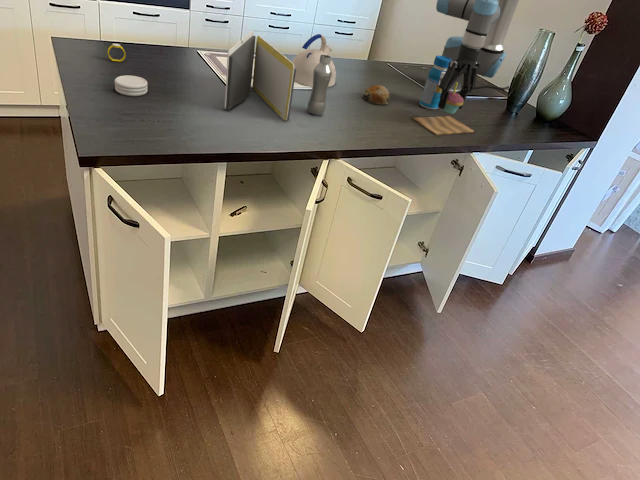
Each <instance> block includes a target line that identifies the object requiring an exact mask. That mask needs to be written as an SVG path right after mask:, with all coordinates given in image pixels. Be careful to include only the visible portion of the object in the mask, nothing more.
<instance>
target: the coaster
mask: <svg viewBox="0 0 640 480" xmlns="http://www.w3.org/2000/svg"><path fill="white" fill-rule="evenodd" d="M148 84H149V83H148V81H147V80H146V79H145V78H143V77H140V76H137V75H129V74H128V75H127V74H126V75H119V76H117V77H116V78H115V79H114V89H115V91H116V92H117V93H118V94H120V95H122V96H128V97H141V96H144V95H146V94H147V93H148V91H149V89H148V87H149V86H148Z"/></svg>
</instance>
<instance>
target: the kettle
mask: <svg viewBox="0 0 640 480" xmlns="http://www.w3.org/2000/svg"><path fill="white" fill-rule="evenodd" d="M319 39H320V41H321V42H320V48H319V49H314V48H312V49H311V48H310V49H308V48H309V47H310V46H311V44H313V43H314V42H315V41H317V40H319ZM301 48H302V49H304V50H303V51H301V52H299V53H298V54H296V56H294V58H293V59H292V60H291V62H292V63H293V64H294V68H295V69H296V74H295V81H294V83H297V84H301V85H303V86H307V87H311V88H312V87H313V72H314V68H315V67H316V66H317V65H318V64H319V63H320V61H319V59H320V56H321V55H328V56H330V54H331V52H332V48H331V47H330V46H329V45H327V39H326V37H325V35H323V34H320V33H317V34H315V35H313V36H311V37H310V38H309V39H308V40H307V41H306V42H304V44H303V45H302V46H301ZM329 65H330V68H331V71H332V75H331V79H330V82H329V85H328V88H331V87H333V86H334V85H336V79H337V78H336V77H337V71H336V67H335V64H334V62H333V60H332V59H331V60H330V63H329Z"/></svg>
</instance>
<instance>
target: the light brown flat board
mask: <svg viewBox="0 0 640 480" xmlns="http://www.w3.org/2000/svg"><path fill="white" fill-rule="evenodd" d="M412 120H413V121H415V122H416V123H417V124H418V125H420V126H422V128H425V129H427V130H428V132H431V133H432V134H433V135H434V136H441V135H454V134H456V135H458V134H470V133H475V130H474V129H472V128H471V127H469V126H467V125H465V124H464V123H462V122H461V121H459V120H457V119H455V118H454V117H453V116H451V115H443V116H422V117H412Z"/></svg>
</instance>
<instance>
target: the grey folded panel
mask: <svg viewBox="0 0 640 480" xmlns="http://www.w3.org/2000/svg"><path fill="white" fill-rule="evenodd" d="M226 58H227V59H226V60H227V61H226V77H225V91H224V92H225V94H224V110H227V109H228V110H230V109H231V108H233V107H234V106H237V105H238V104H240V103H241V102H242V101H244V100H245V98H246V97H247V96H248V94H249V93H250V92H251V88H252V89H253V90H254V91H255V92H256V93H257V95H258V96H260V97H261V98H262V99H263V101H265V103H266V104H267V105H268V106H269V107H270V108H271V109H272V110H273V111H274V112H275V113H276V114H277V115H278V116H279V117H280V118H281V119H282V120H283V121H284V122H286V121H289V120H290V115H291V109H292V101H293V93H294V88H295V87H294V86H295V74H296V69H295V68H294V64H293V63H292V60H290V59H289V58H287V57H286V56H285V55H284V54H283V53H281V51H279V50H277V48H275V47H274V46H273V45H271V44H270V43H269V42H268V41H267V40H265V39H264V38H263V37H261V36H260V35H257V36H256V35H254V30H251V31H249V33H247V34H246V35H245V36H244V37H243V38H242V39H240V40H239V41H237V43H235V45H233V46H232V47H230V48H229V49H228V51H227V57H226Z"/></svg>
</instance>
